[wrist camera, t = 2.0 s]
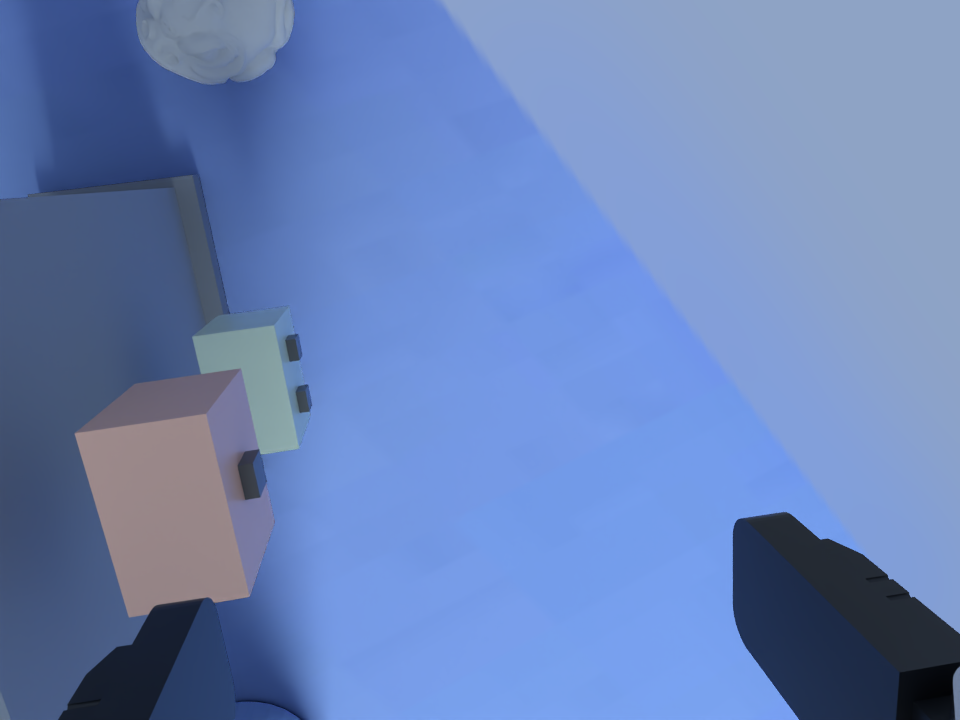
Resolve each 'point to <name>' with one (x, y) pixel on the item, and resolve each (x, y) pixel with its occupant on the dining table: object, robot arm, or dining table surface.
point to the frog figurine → (214, 36)
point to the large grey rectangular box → (82, 405)
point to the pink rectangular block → (180, 489)
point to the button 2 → (262, 371)
